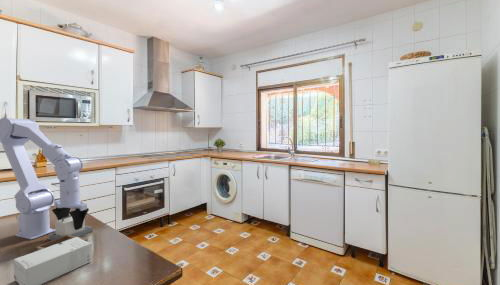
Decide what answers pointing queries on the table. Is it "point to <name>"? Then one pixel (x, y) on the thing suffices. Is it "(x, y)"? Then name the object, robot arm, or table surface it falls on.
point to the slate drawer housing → (78, 234)
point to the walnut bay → (56, 242)
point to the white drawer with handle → (66, 226)
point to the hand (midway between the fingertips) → (71, 227)
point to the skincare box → (51, 261)
